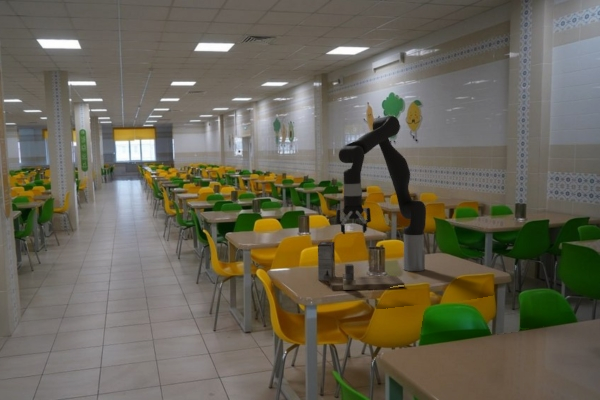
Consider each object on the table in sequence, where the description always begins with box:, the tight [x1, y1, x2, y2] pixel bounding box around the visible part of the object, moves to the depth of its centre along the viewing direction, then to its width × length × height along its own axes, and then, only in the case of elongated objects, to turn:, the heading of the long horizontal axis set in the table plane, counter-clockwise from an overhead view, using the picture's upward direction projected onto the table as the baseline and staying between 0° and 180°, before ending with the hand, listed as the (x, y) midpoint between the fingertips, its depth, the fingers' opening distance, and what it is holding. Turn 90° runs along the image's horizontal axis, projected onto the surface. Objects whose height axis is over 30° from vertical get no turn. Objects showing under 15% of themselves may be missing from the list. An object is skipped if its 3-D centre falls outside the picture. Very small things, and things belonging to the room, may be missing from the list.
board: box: [327, 275, 405, 291], centre depth 222 cm, size 30×14×2 cm, turn 93°
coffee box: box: [317, 241, 336, 282], centre depth 235 cm, size 9×6×16 cm
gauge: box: [342, 263, 357, 291], centre depth 218 cm, size 5×13×10 cm, turn 3°
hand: (353, 233), depth 218 cm, fingers open, 8 cm apart
